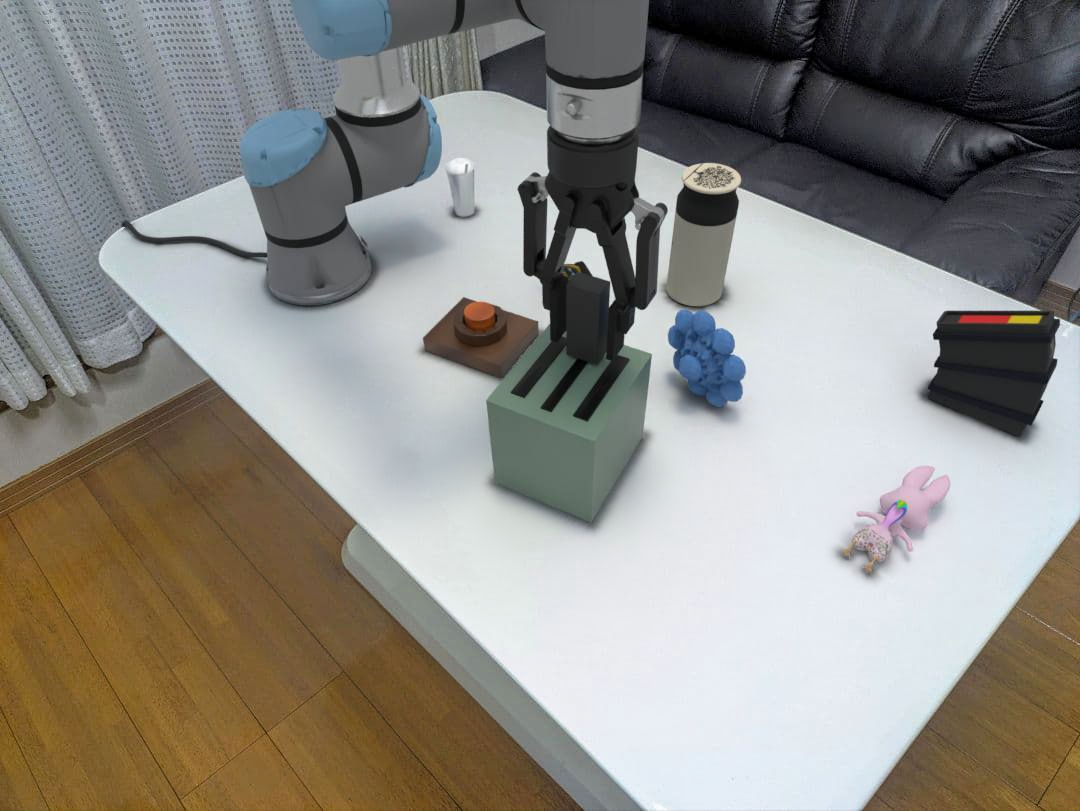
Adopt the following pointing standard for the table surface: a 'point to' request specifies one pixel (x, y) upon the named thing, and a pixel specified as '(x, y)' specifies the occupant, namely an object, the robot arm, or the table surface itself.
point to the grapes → (706, 357)
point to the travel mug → (702, 233)
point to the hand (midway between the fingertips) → (586, 342)
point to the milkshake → (462, 185)
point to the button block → (482, 339)
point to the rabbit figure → (900, 514)
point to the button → (479, 315)
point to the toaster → (567, 424)
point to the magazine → (995, 365)
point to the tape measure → (574, 269)
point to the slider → (587, 317)
